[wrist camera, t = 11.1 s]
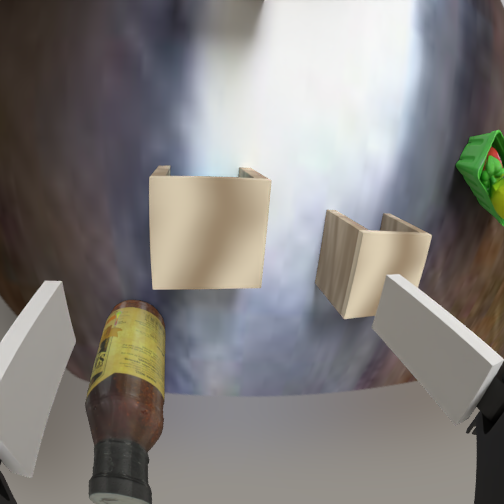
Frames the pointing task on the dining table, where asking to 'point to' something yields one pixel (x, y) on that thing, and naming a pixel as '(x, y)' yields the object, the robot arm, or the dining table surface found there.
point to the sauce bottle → (126, 403)
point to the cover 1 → (208, 230)
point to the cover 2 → (367, 261)
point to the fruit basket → (485, 171)
